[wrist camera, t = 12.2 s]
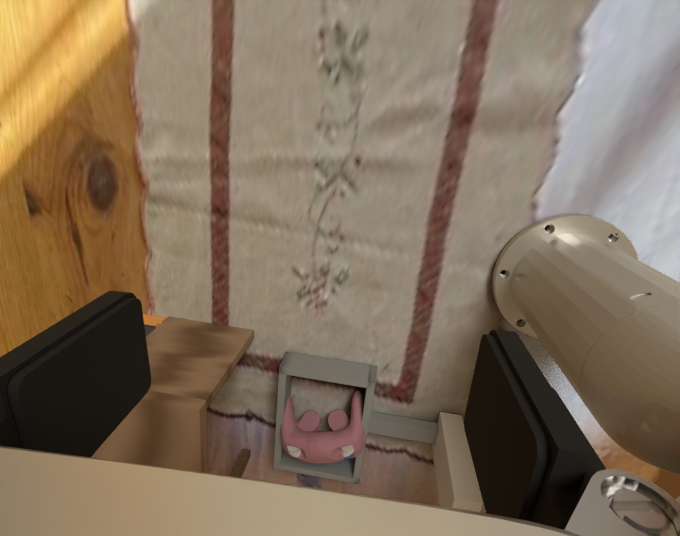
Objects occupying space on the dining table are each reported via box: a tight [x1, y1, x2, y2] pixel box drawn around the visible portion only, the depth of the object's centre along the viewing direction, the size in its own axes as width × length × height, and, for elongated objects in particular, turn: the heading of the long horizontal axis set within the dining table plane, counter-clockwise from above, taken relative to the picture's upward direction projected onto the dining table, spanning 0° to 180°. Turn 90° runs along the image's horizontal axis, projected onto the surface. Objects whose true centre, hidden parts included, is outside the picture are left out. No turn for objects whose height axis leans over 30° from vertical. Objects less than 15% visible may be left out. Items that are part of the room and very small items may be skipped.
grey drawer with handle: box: [273, 352, 483, 512], centre depth 40 cm, size 20×14×11 cm
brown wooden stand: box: [94, 317, 254, 478], centre depth 41 cm, size 10×18×13 cm, turn 174°
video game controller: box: [280, 391, 366, 464], centre depth 44 cm, size 10×5×7 cm, turn 98°
